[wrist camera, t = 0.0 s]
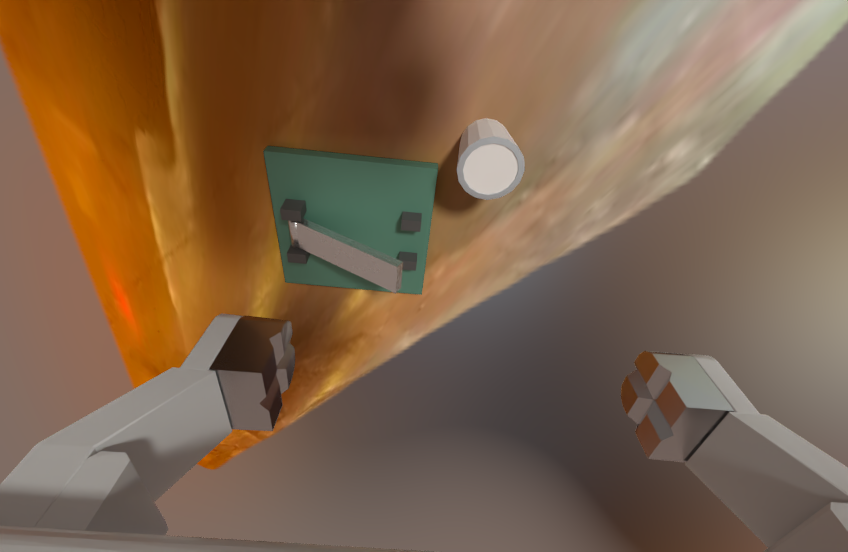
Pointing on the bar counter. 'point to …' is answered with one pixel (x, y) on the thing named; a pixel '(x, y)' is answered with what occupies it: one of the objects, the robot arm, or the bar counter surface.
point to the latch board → (352, 211)
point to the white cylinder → (488, 160)
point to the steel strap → (347, 254)
